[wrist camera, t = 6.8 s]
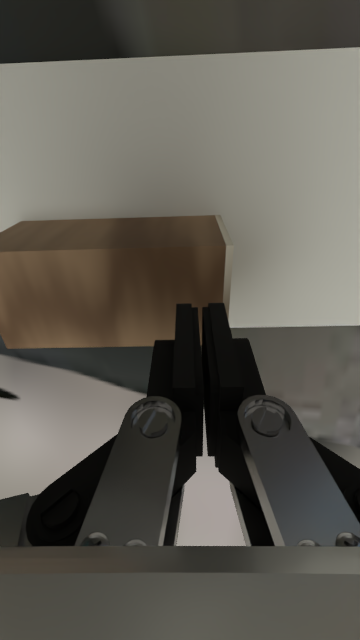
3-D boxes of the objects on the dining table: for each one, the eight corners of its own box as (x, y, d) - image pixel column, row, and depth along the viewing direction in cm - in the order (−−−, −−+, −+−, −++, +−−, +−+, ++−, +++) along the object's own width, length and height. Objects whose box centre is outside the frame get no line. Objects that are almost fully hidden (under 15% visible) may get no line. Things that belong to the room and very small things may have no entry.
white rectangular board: (-80, 69, 13) (-87, 68, 12) (478, 44, 12) (486, 41, 12) (25, 328, 20) (23, 331, 20) (367, 321, 20) (371, 325, 19)
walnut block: (220, 215, 15) (21, 220, 16) (234, 245, 11) (-38, 252, 12) (216, 296, 18) (47, 299, 18) (226, 344, 14) (7, 348, 14)
